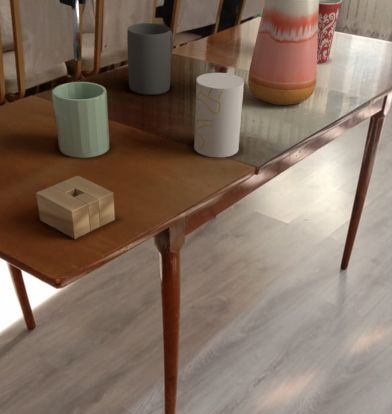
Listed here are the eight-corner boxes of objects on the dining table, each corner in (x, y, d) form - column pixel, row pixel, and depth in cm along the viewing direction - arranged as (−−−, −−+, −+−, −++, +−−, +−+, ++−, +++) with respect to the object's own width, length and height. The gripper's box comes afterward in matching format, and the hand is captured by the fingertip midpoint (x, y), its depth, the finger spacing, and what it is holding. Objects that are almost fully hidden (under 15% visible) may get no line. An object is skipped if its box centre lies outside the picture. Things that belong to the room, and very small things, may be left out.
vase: (325, 98, 137) (352, -63, 117) (289, 115, 128) (312, -54, 109) (270, 82, 144) (288, -73, 124) (233, 97, 135) (245, -66, 115)
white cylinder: (186, 142, 116) (188, 76, 108) (224, 136, 119) (229, 70, 111) (207, 160, 111) (210, 91, 103) (246, 152, 114) (252, 85, 106)
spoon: (80, 64, 102) (77, -32, 92) (68, 58, 103) (63, -38, 94) (86, 62, 103) (83, -34, 93) (74, 57, 104) (69, -39, 94)
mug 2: (337, 57, 159) (347, -3, 150) (324, 67, 153) (333, 5, 144) (291, 48, 164) (299, -10, 155) (276, 57, 158) (283, -4, 149)
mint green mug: (119, 147, 114) (117, 91, 107) (82, 162, 109) (76, 104, 102) (76, 128, 120) (71, 74, 113) (38, 142, 114) (30, 85, 108)
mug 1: (155, 98, 133) (155, 37, 125) (120, 89, 136) (118, 29, 129) (188, 81, 142) (190, 23, 134) (155, 73, 145) (154, 16, 138)
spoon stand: (74, 239, 90) (71, 211, 87) (39, 220, 93) (35, 192, 91) (115, 219, 94) (113, 192, 91) (80, 202, 98) (77, 175, 95)
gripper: (29, -144, 79) (48, 17, 91) (119, -147, 88) (124, 0, 100) (-6, -148, 83) (16, 7, 95) (83, -151, 92) (93, -9, 104)
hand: (72, 2), depth 97 cm, fingers closed on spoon
